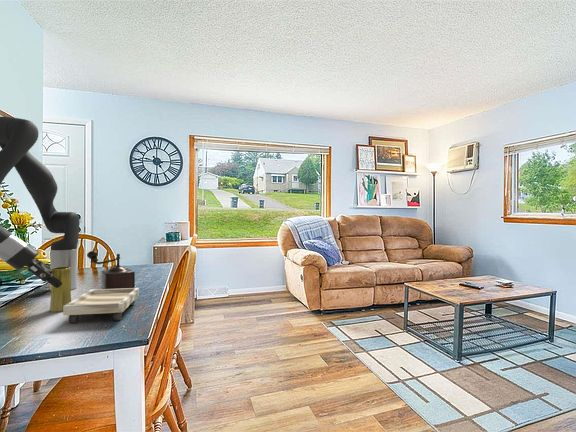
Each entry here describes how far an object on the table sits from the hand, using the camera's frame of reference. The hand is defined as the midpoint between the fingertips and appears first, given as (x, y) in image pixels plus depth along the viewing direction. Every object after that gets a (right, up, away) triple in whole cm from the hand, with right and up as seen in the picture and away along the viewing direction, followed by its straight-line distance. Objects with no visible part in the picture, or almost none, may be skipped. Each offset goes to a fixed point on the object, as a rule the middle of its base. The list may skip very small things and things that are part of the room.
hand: (59, 283), depth 104 cm
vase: (0, -9, 0) cm, 9 cm away
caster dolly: (+17, -9, -3) cm, 20 cm away
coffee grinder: (+6, -9, +20) cm, 23 cm away
